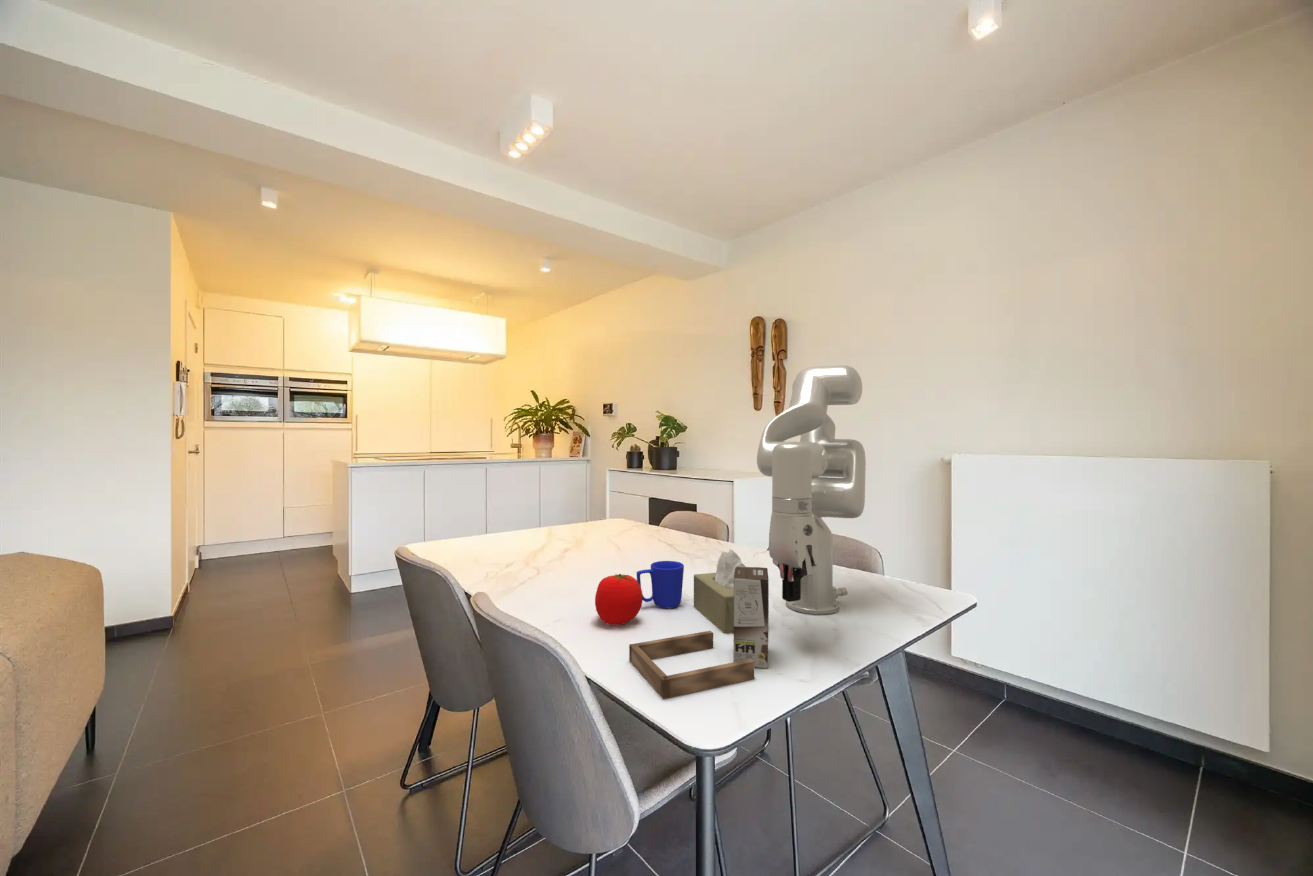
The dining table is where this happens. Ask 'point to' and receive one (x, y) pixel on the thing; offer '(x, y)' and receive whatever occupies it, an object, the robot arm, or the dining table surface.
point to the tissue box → (718, 592)
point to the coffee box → (751, 615)
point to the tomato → (618, 599)
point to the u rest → (692, 679)
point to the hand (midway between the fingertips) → (791, 599)
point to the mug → (665, 583)
